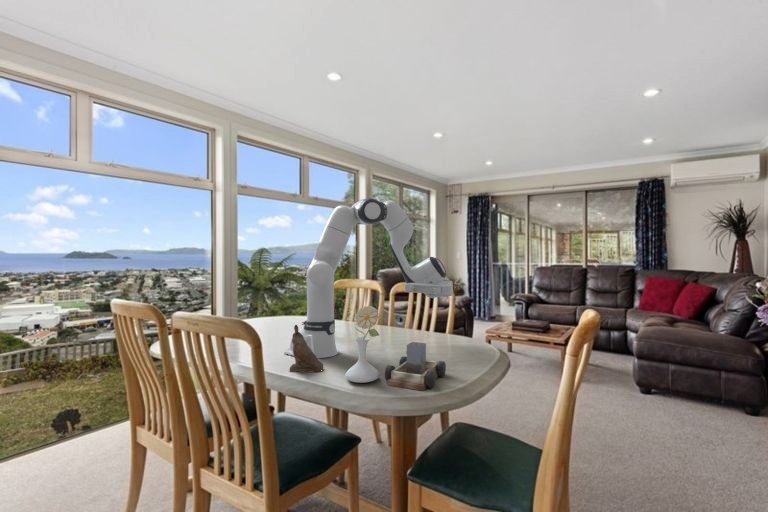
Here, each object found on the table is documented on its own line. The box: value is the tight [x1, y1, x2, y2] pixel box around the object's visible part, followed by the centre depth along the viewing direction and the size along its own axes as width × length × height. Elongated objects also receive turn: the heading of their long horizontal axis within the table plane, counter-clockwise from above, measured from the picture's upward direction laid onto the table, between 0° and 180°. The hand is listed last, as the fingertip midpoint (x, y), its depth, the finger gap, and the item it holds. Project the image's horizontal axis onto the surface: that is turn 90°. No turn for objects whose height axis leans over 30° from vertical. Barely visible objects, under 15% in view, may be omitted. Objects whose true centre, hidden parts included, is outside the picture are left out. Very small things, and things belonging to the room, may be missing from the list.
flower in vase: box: [344, 305, 381, 384], centre depth 124 cm, size 13×11×25 cm
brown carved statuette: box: [289, 324, 324, 372], centre depth 135 cm, size 12×6×18 cm, turn 86°
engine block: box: [406, 341, 427, 375], centre depth 126 cm, size 5×5×10 cm
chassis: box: [384, 355, 447, 392], centre depth 126 cm, size 15×20×5 cm
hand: (422, 289), depth 150 cm, fingers open, 8 cm apart
